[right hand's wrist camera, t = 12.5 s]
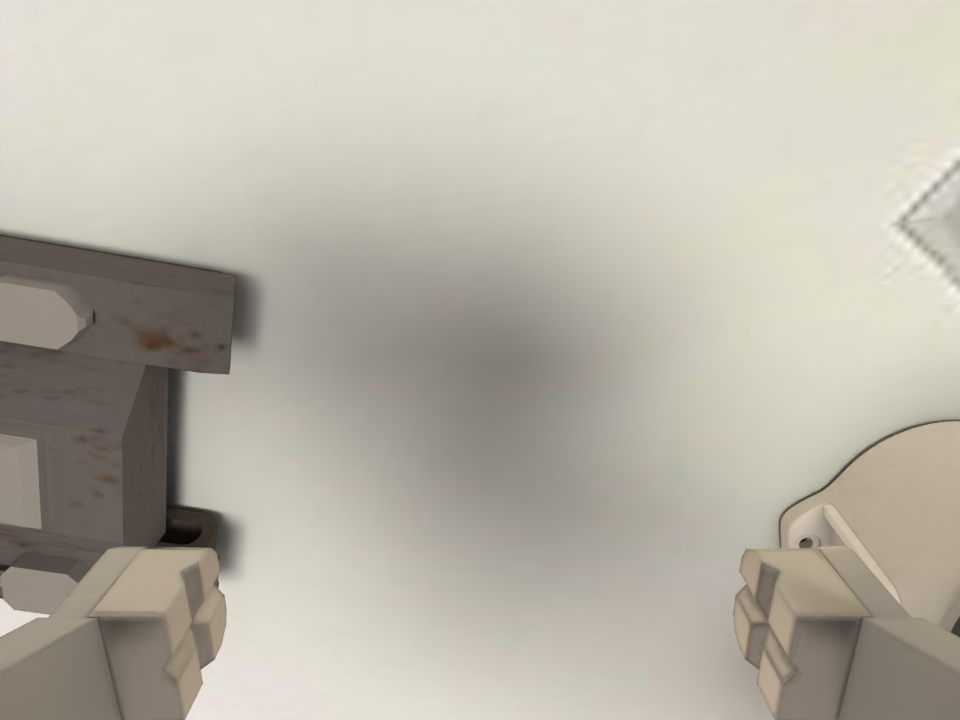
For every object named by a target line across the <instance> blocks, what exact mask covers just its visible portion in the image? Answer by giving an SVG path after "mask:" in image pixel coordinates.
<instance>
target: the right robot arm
mask: <svg viewBox="0 0 960 720" xmlns="http://www.w3.org/2000/svg"><path fill="white" fill-rule="evenodd" d="M780 532H781V548H761V549H746V550H745V552H744V554H743V556H742V559H741V565H740V570H739V571H740V573H741V575H742V577H743V579H744V580H745V582H746V585H745V586H744V587H743V588H742V589H741V590H740V591H739V592H738V593H737V594H736V595H735V604H734V612H733V615H734V626H735V634H736V637H737V641H738V644H739V647H740V649H741V651H742V653H743V655H744V658H745V660H747V661H748V662H750V663H751V664H752V665H754V666H755V667H756V668H758V669H759V675H758V681H757V684H758V686H759V688H760V690H761V692H762V694H763V696H764V698H765V700H766V702H767V704H768V706H769V708H770V710H771V712H772V714H773V716H774V718H775V720H960V421H947V422H938V423H932V424H927V425H922V426H919V427H915V428H912V429H909V430H906V431H903V432H901V433H899V434H896V435H894V436H892V437H890V438H888V439H886V440H884V441H882V442H880V443H879V444H877V445H875V446H874V447H872V448H871V449H869V450H868V451H866V452H865V453H864V454H862V455H861V456H860V457H859V458H857V459H856V460H855V461H854V462H853V463H852V464H851V465H849V466H848V467H847V468H846V470H845V471H844V472H843V473H842V474H841V475H840V476H839V477H838V478H837V479H836V480H835V481H834V482H833V483H832V484H831V485H829V486H828V487H827V488H826V489H824V490H823V491H821V492H819V493H817V494H815V495H813V496H811V497H809V498H807V499H805V500H803V501H801V502H800V503H798V504H796V505H795V506H793V507H792V508H790V509H789V510H788V511H787V512H786V513H785V514H784V515H783V517H782V519H781V523H780ZM804 538H807V539H806V540H805V541H804V542H801V543H799V542H800V541H801V540H802V539H804ZM220 571H221V570H220V565H219V560H218V555H217V553H216V552H215V551H214V550H213V549H212V548H192V547H144V546H116V547H114V548H111V549H108V550H107V551H106V552H105V553H104V554H103V555H102V556H101V558H100V559H99V560H98V561H97V562H96V563H95V565H94V566H93V567H92V568H91V569H90V570H89V571H88V573H87V574H86V575H85V576H84V577H83V578H82V579H81V581H80V582H79V583H78V584H77V585H76V586H75V588H74V589H73V590H72V591H71V592H70V593H69V594H68V596H67V597H66V598H65V599H64V600H63V601H62V603H61V604H60V605H59V606H58V607H57V608H56V609H55V611H54V612H53V613H52V614H51V615H50V616H49V617H48V618H36V619H34V620H32V621H31V622H29V623H27V624H25V625H23V626H21V627H19V628H17V629H15V630H13V631H11V632H9V633H7V634H6V635H4V636H2V637H0V720H185V719H186V717H187V715H188V713H189V711H190V709H191V707H192V705H193V702H194V700H195V698H196V696H197V694H198V692H199V690H200V688H201V686H202V684H203V681H202V675H201V669H202V668H204V667H205V666H206V665H208V664H209V663H210V662H212V661H213V660H215V658H216V655H217V653H218V651H219V649H220V647H221V645H222V641H223V636H224V632H225V627H226V602H225V595H224V594H223V593H222V592H221V591H220V590H219V589H218V588H217V587H216V586H215V585H214V582H215V580H216V579H217V577H218V575H219V573H220Z"/></svg>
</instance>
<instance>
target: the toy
mask: <svg viewBox="0 0 960 720" xmlns="http://www.w3.org/2000/svg"><path fill="white" fill-rule="evenodd" d="M235 284H236V276H234V275H228V274H223V273H221V272H216V271H212V270H206V269H200V268H194V267H187V266H181V265H175V264H169V263H163V262H157V261H151V260H145V259H139V258H133V257H127V256H121V255H115V254H109V253H103V252H97V251H91V250H85V249H79V248H73V247H67V246H61V245H55V244H49V243H43V242H37V241H31V240H25V239H19V238H13V237H7V236H1V235H0V598H2V599H4V600H5V601H6V602H7V603H8V604H9V605H10V606H11V607H12V608H13V609H14V610H20V611H27V612H34V613H42V614H49V615H51V614H52V613H53V612H54V611H55V609H56V608H57V607H58V606H59V605H60V604H61V603H62V601H63V600H64V599H65V598H66V597H67V596H68V594H69V593H70V592H71V591H72V590H73V589H74V588H75V586H76V585H77V584H78V583H79V582H80V581H81V579H82V578H83V577H84V576H85V575H86V574H87V573H88V571H89V570H90V569H91V568H92V567H93V566H94V565H95V563H96V562H97V561H98V560H99V559H100V558H101V556H102V555H103V554H104V553H105V552H106V551H107V550H108V549H111V548H114V547H116V546H144V547H192V548H212V549H213V550H214V551H215V548H216V526H217V524H216V521H215V519H214V518H213V517H212V516H210V515H209V514H205V513H202V512H195V511H188V510H181V509H174V508H167V507H166V484H167V428H168V372H169V368H173V369H180V370H186V371H193V372H199V373H215V374H229V371H230V359H231V341H232V324H233V306H234V292H235ZM218 560H219V556H218ZM214 585H215V586H216V587H217V588H218V585H219V582H218V577H217V579H216V580H215V582H214Z"/></svg>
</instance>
